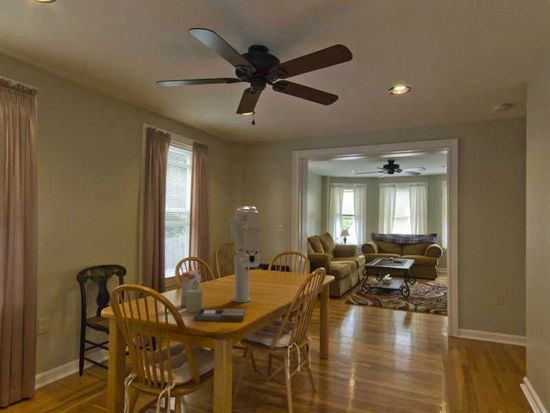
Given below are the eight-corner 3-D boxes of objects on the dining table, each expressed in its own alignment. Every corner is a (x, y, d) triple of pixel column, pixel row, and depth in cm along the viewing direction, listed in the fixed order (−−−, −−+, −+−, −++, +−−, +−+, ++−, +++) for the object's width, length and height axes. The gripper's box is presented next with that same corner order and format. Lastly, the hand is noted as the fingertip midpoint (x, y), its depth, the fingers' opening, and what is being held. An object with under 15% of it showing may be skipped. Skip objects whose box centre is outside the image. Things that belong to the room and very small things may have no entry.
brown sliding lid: (224, 313, 198) (224, 308, 198) (245, 314, 198) (245, 308, 199) (220, 320, 184) (221, 315, 184) (243, 321, 184) (243, 315, 185)
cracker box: (189, 307, 210) (189, 273, 211) (180, 306, 212) (181, 272, 212) (200, 302, 223) (201, 270, 224) (192, 301, 225) (193, 269, 226)
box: (199, 313, 198) (199, 308, 198) (223, 313, 198) (224, 309, 198) (194, 320, 184) (194, 315, 184) (220, 320, 184) (220, 316, 184)
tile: (215, 310, 194) (215, 314, 194) (204, 310, 194) (204, 314, 194) (214, 313, 188) (213, 317, 188) (203, 313, 188) (202, 317, 188)
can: (202, 308, 210) (202, 288, 210) (201, 312, 201) (201, 291, 201) (186, 308, 209) (187, 288, 209) (185, 312, 199) (185, 291, 200)
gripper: (265, 231, 208) (264, 261, 208) (240, 231, 208) (239, 261, 208) (264, 232, 201) (264, 263, 200) (239, 231, 201) (238, 263, 200)
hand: (251, 262), depth 204 cm, fingers closed
